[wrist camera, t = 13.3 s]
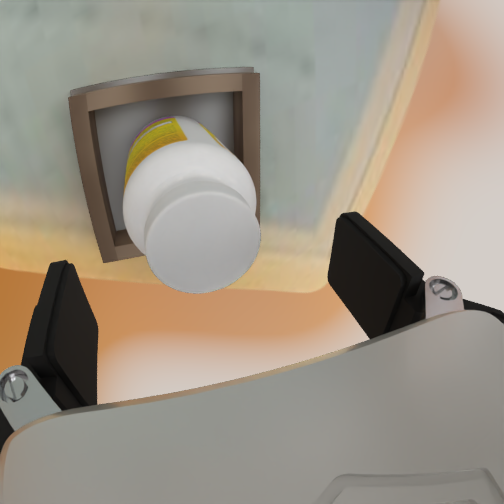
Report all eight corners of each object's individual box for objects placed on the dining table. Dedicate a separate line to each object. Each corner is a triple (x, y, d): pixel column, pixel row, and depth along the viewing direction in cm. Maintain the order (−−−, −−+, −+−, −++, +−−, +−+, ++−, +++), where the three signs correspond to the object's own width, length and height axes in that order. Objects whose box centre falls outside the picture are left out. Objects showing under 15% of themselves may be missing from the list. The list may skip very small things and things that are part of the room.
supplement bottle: (118, 189, 23) (106, 301, 12) (142, 104, 20) (140, 144, 10) (200, 206, 26) (249, 317, 15) (229, 128, 23) (309, 192, 13)
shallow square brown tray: (249, 67, 22) (265, 67, 19) (251, 218, 29) (264, 238, 26) (73, 89, 18) (61, 93, 15) (103, 245, 26) (100, 268, 23)
